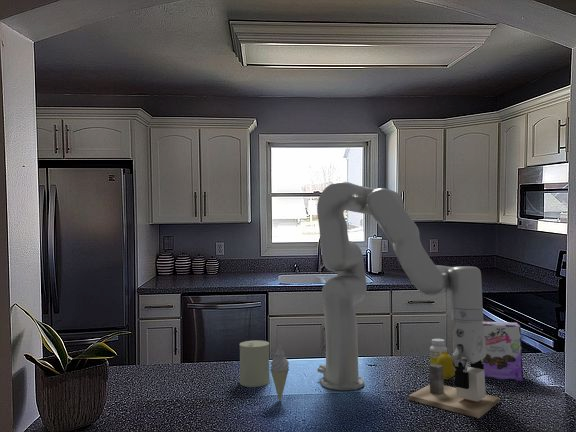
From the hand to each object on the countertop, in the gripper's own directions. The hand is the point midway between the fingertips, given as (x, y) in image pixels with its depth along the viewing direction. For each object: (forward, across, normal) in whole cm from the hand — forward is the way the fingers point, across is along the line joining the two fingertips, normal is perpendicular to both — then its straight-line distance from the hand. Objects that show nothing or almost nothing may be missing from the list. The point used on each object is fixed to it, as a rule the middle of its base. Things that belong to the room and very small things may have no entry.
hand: (470, 383), depth 109 cm
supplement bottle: (+6, +24, +20) cm, 31 cm away
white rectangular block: (+3, 0, 0) cm, 3 cm away
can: (+6, -24, +56) cm, 61 cm away
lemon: (+6, +16, +14) cm, 22 cm away
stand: (+6, 0, +4) cm, 7 cm away
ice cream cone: (+6, -30, +38) cm, 49 cm away
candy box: (+6, +29, +4) cm, 30 cm away
